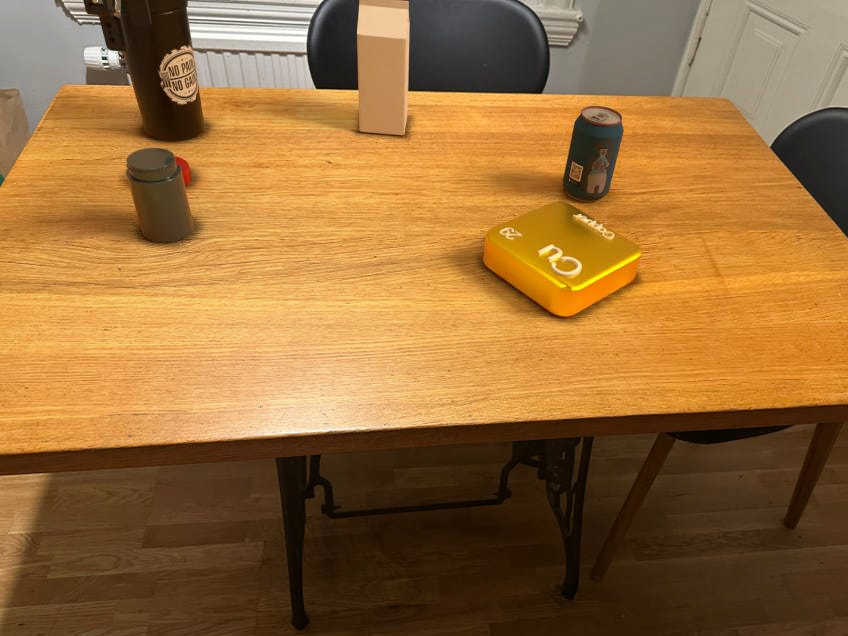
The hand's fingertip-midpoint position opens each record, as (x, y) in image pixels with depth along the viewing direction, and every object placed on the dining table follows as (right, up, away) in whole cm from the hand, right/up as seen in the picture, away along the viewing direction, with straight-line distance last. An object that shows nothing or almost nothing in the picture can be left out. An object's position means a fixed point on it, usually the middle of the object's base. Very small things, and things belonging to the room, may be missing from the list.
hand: (131, 36), depth 83 cm
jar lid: (-1, -13, +11) cm, 17 cm away
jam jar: (+3, -22, +4) cm, 23 cm away
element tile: (+51, -27, +6) cm, 59 cm away
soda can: (+57, -14, +21) cm, 62 cm away
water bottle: (-5, -3, +23) cm, 24 cm away
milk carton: (+26, 0, +31) cm, 40 cm away
